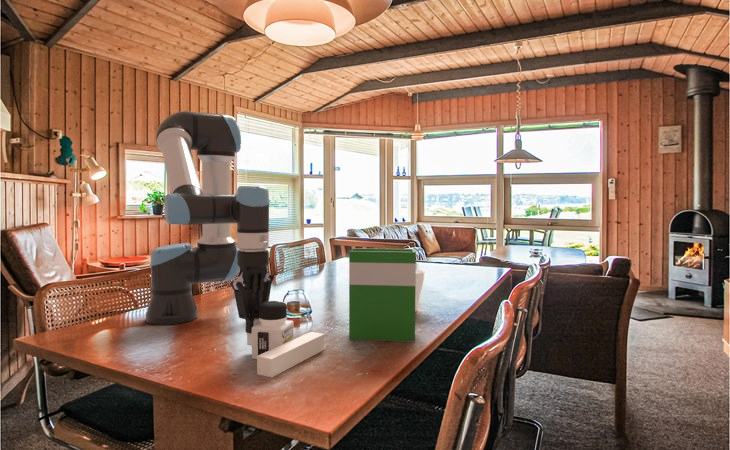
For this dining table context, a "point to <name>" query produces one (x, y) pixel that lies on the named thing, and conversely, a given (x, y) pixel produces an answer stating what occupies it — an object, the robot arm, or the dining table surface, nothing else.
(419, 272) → the cup
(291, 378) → the dining table surface
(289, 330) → the container
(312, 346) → the white rectangular bar
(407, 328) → the hardback book
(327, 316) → the dining table surface
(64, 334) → the dining table surface
